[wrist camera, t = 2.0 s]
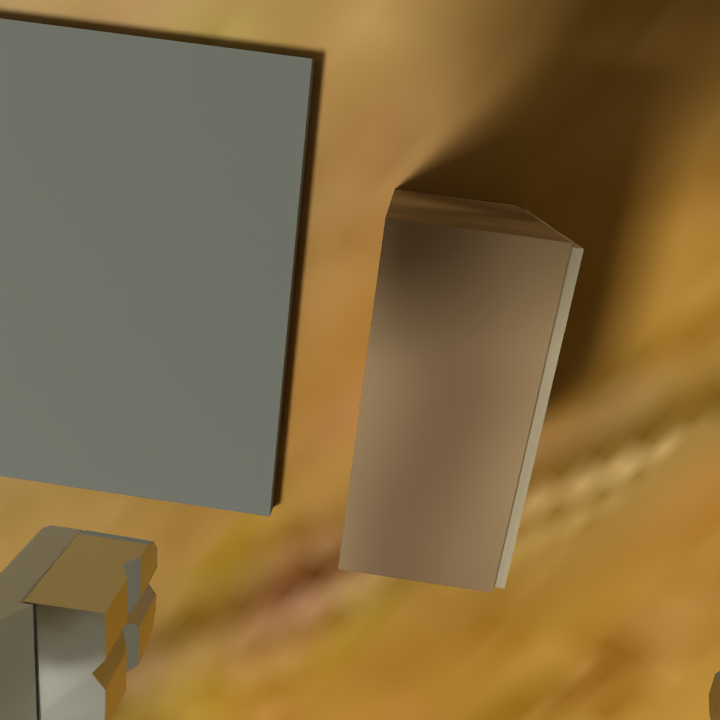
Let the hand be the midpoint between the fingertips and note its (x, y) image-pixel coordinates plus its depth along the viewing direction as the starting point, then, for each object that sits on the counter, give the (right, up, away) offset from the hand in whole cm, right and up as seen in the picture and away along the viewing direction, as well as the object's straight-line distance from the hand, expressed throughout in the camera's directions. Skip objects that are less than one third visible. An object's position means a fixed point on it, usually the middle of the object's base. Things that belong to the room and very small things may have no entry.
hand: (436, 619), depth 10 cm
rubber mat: (-10, +6, +14) cm, 19 cm away
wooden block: (+1, +5, +14) cm, 15 cm away
